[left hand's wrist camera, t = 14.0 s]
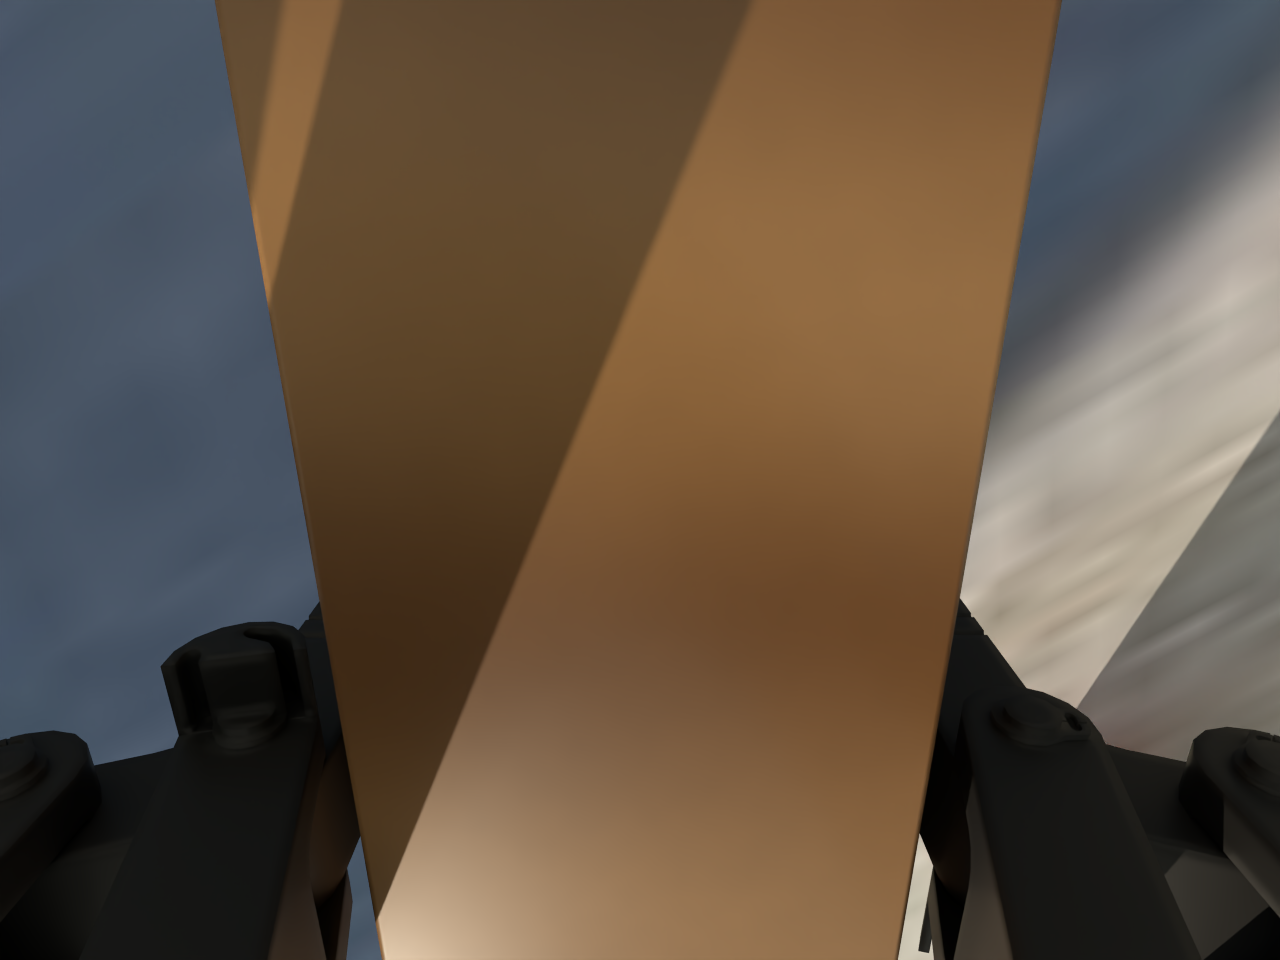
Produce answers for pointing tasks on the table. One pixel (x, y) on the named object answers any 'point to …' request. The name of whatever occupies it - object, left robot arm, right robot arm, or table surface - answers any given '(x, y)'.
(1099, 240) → the table surface
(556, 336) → the bar
